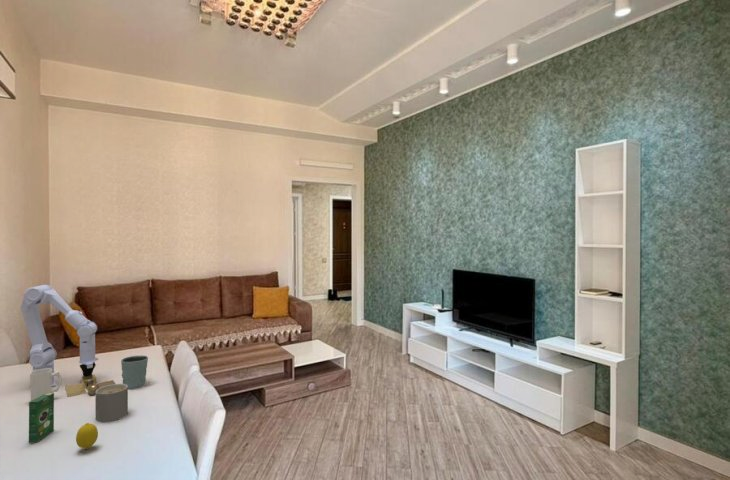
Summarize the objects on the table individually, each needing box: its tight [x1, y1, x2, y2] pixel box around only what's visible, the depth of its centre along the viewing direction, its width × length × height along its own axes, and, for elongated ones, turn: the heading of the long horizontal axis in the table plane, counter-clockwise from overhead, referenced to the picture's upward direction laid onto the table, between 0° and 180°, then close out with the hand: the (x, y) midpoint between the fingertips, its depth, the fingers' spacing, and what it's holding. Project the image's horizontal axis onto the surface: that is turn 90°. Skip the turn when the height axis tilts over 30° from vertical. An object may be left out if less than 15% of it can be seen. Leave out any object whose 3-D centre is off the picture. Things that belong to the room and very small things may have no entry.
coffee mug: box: [94, 383, 129, 423], centre depth 145 cm, size 13×10×10 cm
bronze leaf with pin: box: [86, 379, 116, 396], centre depth 169 cm, size 12×10×4 cm
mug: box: [29, 368, 63, 401], centre depth 157 cm, size 10×7×12 cm, turn 124°
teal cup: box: [120, 355, 149, 391], centre depth 173 cm, size 10×10×12 cm
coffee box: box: [28, 392, 55, 444], centre depth 129 cm, size 8×3×13 cm, turn 6°
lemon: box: [75, 422, 99, 450], centre depth 121 cm, size 6×6×8 cm
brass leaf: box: [64, 373, 97, 398], centre depth 169 cm, size 12×11×4 cm
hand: (87, 380), depth 177 cm, fingers closed
